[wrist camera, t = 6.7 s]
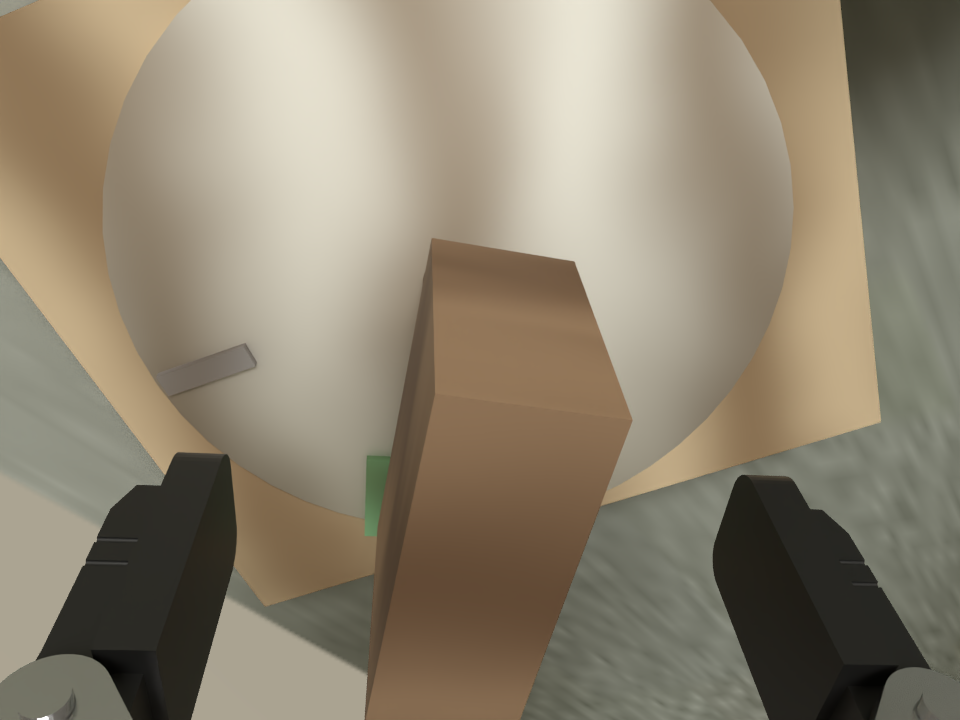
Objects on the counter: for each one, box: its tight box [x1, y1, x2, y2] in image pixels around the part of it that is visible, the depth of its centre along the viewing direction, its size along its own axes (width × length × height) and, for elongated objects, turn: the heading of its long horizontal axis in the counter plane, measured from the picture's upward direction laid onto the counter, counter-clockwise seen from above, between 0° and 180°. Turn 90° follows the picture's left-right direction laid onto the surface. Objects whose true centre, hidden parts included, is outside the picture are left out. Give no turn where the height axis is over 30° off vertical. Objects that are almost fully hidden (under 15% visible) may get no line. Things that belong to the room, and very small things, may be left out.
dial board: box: [0, 0, 881, 607], centre depth 21 cm, size 19×17×4 cm
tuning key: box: [365, 238, 633, 720], centre depth 16 cm, size 11×2×9 cm, turn 168°
